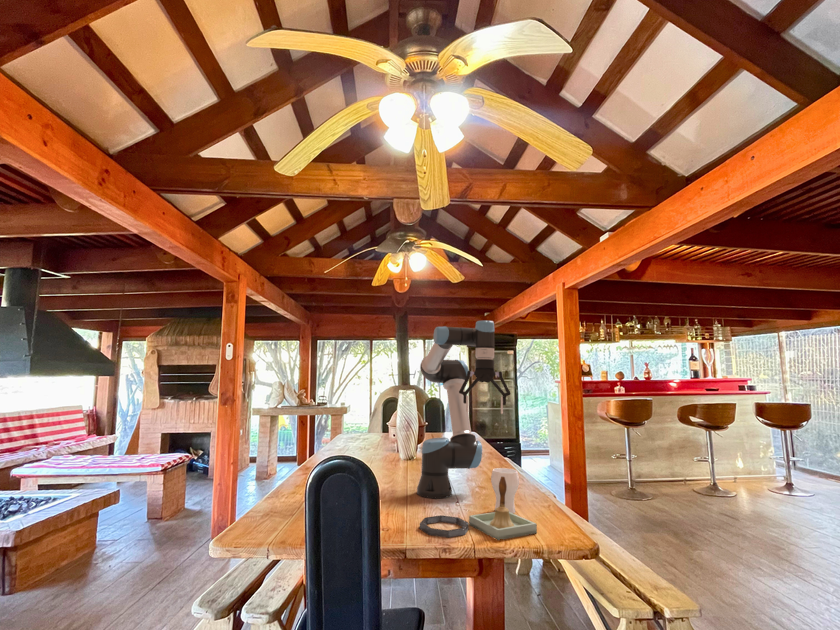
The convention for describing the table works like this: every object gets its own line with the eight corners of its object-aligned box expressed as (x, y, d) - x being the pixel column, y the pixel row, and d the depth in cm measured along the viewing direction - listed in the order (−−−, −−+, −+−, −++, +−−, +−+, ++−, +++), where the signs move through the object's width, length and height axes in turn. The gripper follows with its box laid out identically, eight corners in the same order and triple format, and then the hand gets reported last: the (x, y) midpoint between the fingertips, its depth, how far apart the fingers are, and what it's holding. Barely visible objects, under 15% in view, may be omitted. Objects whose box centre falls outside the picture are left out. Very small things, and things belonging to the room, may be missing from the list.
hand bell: (510, 521, 155) (509, 474, 157) (518, 529, 146) (517, 479, 149) (486, 522, 154) (487, 474, 156) (493, 530, 145) (493, 479, 148)
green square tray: (469, 524, 153) (469, 515, 154) (505, 519, 161) (505, 510, 161) (497, 540, 139) (497, 530, 140) (536, 533, 147) (536, 523, 147)
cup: (519, 516, 164) (519, 474, 166) (490, 513, 166) (490, 472, 168) (518, 508, 174) (518, 468, 177) (491, 506, 177) (491, 466, 179)
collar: (413, 524, 152) (413, 519, 152) (451, 519, 159) (451, 513, 159) (435, 539, 138) (435, 533, 139) (476, 532, 145) (476, 527, 146)
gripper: (452, 358, 178) (451, 412, 175) (516, 359, 172) (516, 414, 169) (455, 358, 185) (454, 410, 182) (516, 360, 180) (516, 413, 177)
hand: (484, 412), depth 176 cm, fingers open, 13 cm apart
